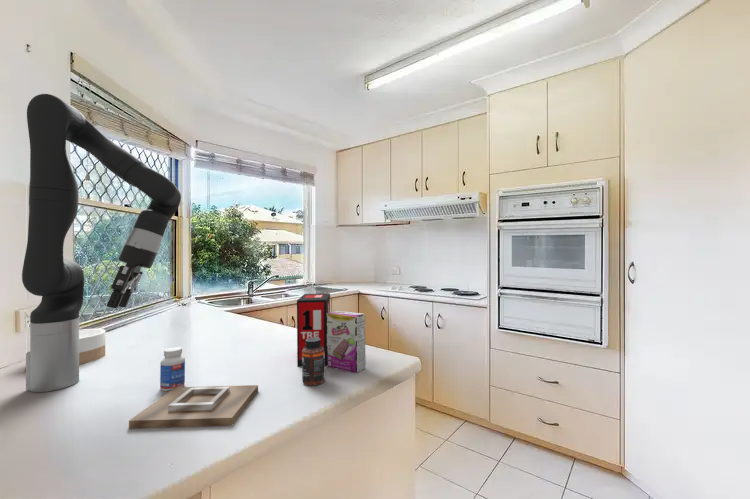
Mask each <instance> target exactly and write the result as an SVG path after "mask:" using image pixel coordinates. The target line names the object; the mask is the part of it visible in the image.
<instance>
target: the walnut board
mask: <svg viewBox="0 0 750 499" xmlns="http://www.w3.org/2000/svg"><path fill="white" fill-rule="evenodd" d="M258 392H259V385H258V384H257V385H256V384H254V385H253V384H252V385H251V384H250V385H248V384H247V385H214V386H213V385H212V386H211V385H210V386H183V387H175V388H174V389H173V390H171V391H167V393H166V394H164V395H163V396H162V397H160V398H158V399H157V400H156V401H154V402H153V403H152V404H150V405H149V406H148V407H146V408H145V409H143V410H142V411H140V412H139V413H138V414H136V415H135V416H134V417H132V418H131V419H129V420H128V429H153V428H154V429H155V428H160V429H161V428H181V427H182V428H183V427H184V428H186V427H187V428H189V427H191V428H192V427H219V426H224V427H225V426H233V425H234V424H235V422H236V421H237V419H238V418H239V417H240V416H241V414H242V413H243V412H244V411H245V409H246V408H247V406H248V405H249V403H251V401H252V400H253V399H254V397H255V396H256V394H257V393H258Z"/></svg>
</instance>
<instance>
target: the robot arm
mask: <svg viewBox="0 0 750 499" xmlns="http://www.w3.org/2000/svg"><path fill="white" fill-rule="evenodd" d="M26 121H27V123H26V124H27V130H28V137H29V149H30V151H29V157H30V159H29V160H30V161H29V165H30V166H29V167H30V168H29V185H28V186H29V188H28V224H27V225H28V226H27V241H26V242H27V243H26V249H25V254H24V258H23V259H24V260H23V264H22V272H21V281H22V285H23V286H24V288H25V290H26V291H27V292H29V293H30V294H32V295H34V296H37V297H41V301H40V303H39V305H38V306H37V307H36V308H34V309H33V310H31V312H30V315H29V317H30V318H29V322H30V323H29V324H30V325H29V336H30V337H29V338H30V340H29V343H30V344H29V351H27V352H26V353H25V391H30V392H32V393H45V392H51V391H52V392H53V391H56V390H60V389H64V388H67V387H70V386H73V385H75V384H77V383H78V382H79V381H80V365H79V330H80V311H81V310H82V307H83V303H84V294H85V293H84V292H85V291H84V290H85V276H84V275H85V274H84V271H83V268H82V267H81V266H80V265H79V263H77V262H76V261H74V260H72V259H64V244H65V239H66V236H67V234H68V232H69V230H70V228H71V227H72V225H73V223H74V221H75V219H76V216H78V215H77V214H78V209H79V193H80V192H79V184H78V182H77V178H76V175H75V172H74V171H73V168H72V165H71V164H70V160H69V158H68V157H69V156H68V155H67V143H66V142H69V143H71V144H74V146H77V147H79V148H82V149H83V150H85V151H86V152H87V153H89V154H91V155H92V156H93V157H95V159H97V161H99V162H100V163H101V165H103V166H104V167H105V168H107V170H109V171H110V172H111V173H113V174H114V175H115V176H116V177H118V178H119V179H121V180H122V181H124V182H125V183H127V184H129V185H130V186H131V187H135V188H137V189H138V190H139V191H140V192H142V193H144V195H146V196H148V197H149V198H150V200H151V201H150V203H149V205H148V207H147V209H143V210H141V211H140V213H139V214H138V216H137V219H136V220H135V223H134V225H133V227H132V230H131V231H130V232H129V235H128V236H127V239H126V241H125V242H124V245H123V247H122V250H121V252H120V254H119V256H118V261H120V262H121V263H124V264H125V263H126V264H125V265H122V264H121V265H120V266H119V268H118V271H117V273H116V275H115V277H114V280H113V282H112V283H111V286H110V289H111V294H110V296H109V298H108V299H109V300H108V301H107V303H106V307H107V308H111V309H117V308H119V307H120V308H126V307H127V306H128V303H129V301H130V299H131V295H133V293H135V292H136V291H137V288H138V285H139V283H140V280H141V277H142V276H143V274H144V273H143V272H144V271H141V270H142V268H145V269H150V268H152V266H153V264H154V262H155V259H156V256H157V254H158V252H159V249H160V247H161V244H162V240H163V236H164V234H165V232H166V230H167V227H168V224H169V222H170V221H171V220H172V217H174V215H175V213H176V212H177V211H178V208H179V206H180V203H181V200H182V195H181V192H180V190H179V189H178V188H177V186H176V185H175V183H174V182H173V181H172V180H171V179H169V178H168V177H166V176H165V175H163V174H162V173H160V172H159V171H156V170H155V169H153V168H151V167H150V166H148V165H147V163H145V162H143V161H142V160H140V159H139V158H137V157H136V156H135V155H133V154H132V153H131V152H129V151H128V150H127V149H125V148H123V147H121V146H120V145H118V144H117V143H115V142H114V141H113V140H111V139H110V138H109V137H107V136H106V135H105V134H103V133H102V132H101V131H100V130H98V128H97V127H95V126H94V125H93V123H92V122H90V121H89V120H88V118H86V117H85V115H84V114H83V113H81V111H80V110H78V109H77V108H75V106H72V105H71V104H69V103H67V102H66V101H64V100H63V99H62V98H59V97H57V96H55V95H53V94H49V93H41V94H37V95H35V96H34V97H32V98H31V100H30V101H29V102H28V105H27V107H26Z"/></svg>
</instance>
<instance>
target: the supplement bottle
mask: <svg viewBox="0 0 750 499" xmlns="http://www.w3.org/2000/svg"><path fill="white" fill-rule="evenodd" d="M305 345H306V346H305V347H304V348H303V350H302V367H301V375H302V377H301V378H302V380H301V381H302V384H304V385H306V386H318V385H321V384H323V383H324V382H325V380H326V369H325V368H326V366H325V351H324V347H322V346H321V339H320V338H308V339H306V344H305Z"/></svg>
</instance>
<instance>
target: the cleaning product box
mask: <svg viewBox="0 0 750 499" xmlns="http://www.w3.org/2000/svg"><path fill="white" fill-rule="evenodd" d="M328 312H331V293H330V292H328V293H321V292H320V293H304V294H303V295H301V297H299V298H298V299H297V300H296V336H297V337H296V338H297V340H296V344H297V345H296V346H297V349H296V350H297V351H296V354H297V357H296V358H297V359H296V362H297V365H296V366H297V367H301V368H302V350H303V348H304V347H305V346H306V345H305V344H306V339H308V338H320V339H321V346H322V347H324V351H325V367H327V314H326V313H328Z"/></svg>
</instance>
